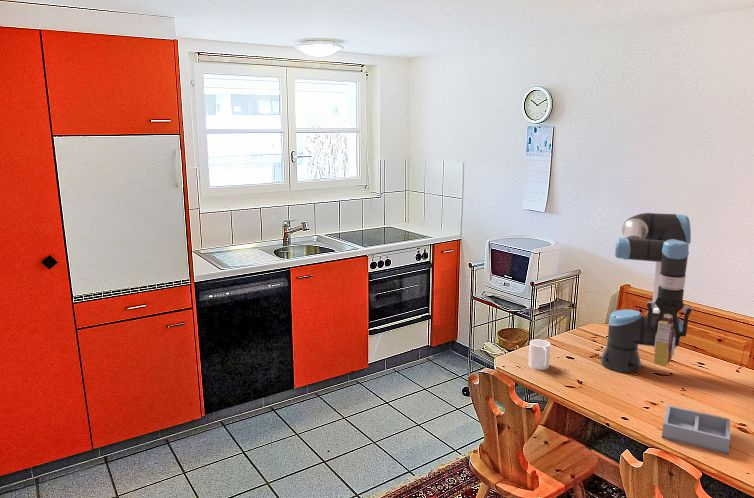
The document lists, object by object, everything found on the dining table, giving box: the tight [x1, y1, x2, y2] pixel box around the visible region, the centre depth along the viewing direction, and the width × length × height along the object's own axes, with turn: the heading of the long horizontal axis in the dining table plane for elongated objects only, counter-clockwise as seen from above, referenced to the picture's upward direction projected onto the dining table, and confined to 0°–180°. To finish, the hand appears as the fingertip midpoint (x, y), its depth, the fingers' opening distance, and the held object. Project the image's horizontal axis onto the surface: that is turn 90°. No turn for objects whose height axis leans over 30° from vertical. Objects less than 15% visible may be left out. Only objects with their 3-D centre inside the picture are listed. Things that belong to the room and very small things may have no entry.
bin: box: [661, 404, 731, 455], centre depth 177 cm, size 18×14×5 cm
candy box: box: [653, 315, 675, 367], centre depth 188 cm, size 9×4×15 cm, turn 141°
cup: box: [528, 338, 551, 371], centre depth 227 cm, size 8×12×10 cm
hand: (663, 352), depth 189 cm, fingers closed on candy box, 4 cm apart
